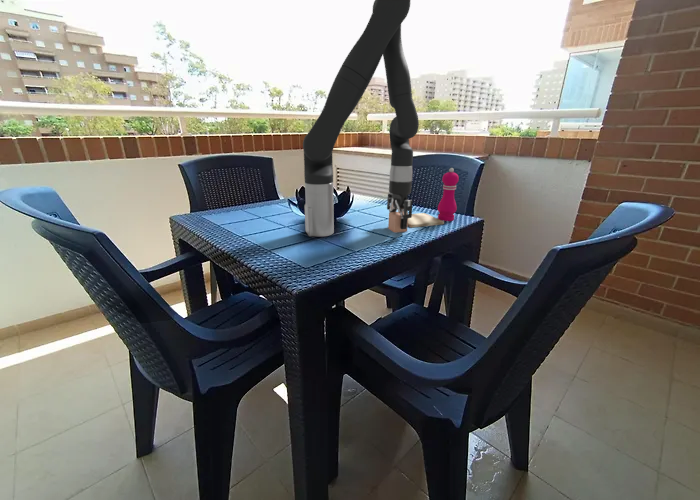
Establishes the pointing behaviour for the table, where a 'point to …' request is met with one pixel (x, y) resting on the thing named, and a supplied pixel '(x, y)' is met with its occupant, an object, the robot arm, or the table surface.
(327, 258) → the table surface
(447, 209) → the pepper mill
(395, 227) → the terracotta block
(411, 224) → the birch board
